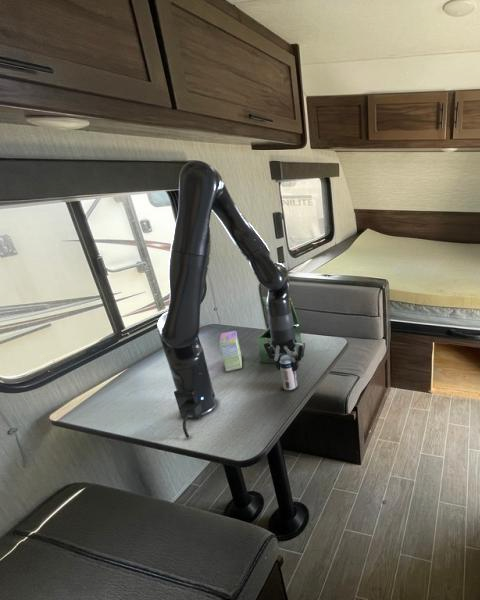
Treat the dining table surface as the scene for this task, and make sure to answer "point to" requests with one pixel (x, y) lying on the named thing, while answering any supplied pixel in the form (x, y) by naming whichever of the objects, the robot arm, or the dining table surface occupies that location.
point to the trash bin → (267, 337)
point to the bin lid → (291, 310)
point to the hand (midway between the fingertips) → (288, 369)
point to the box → (230, 350)
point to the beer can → (287, 373)
